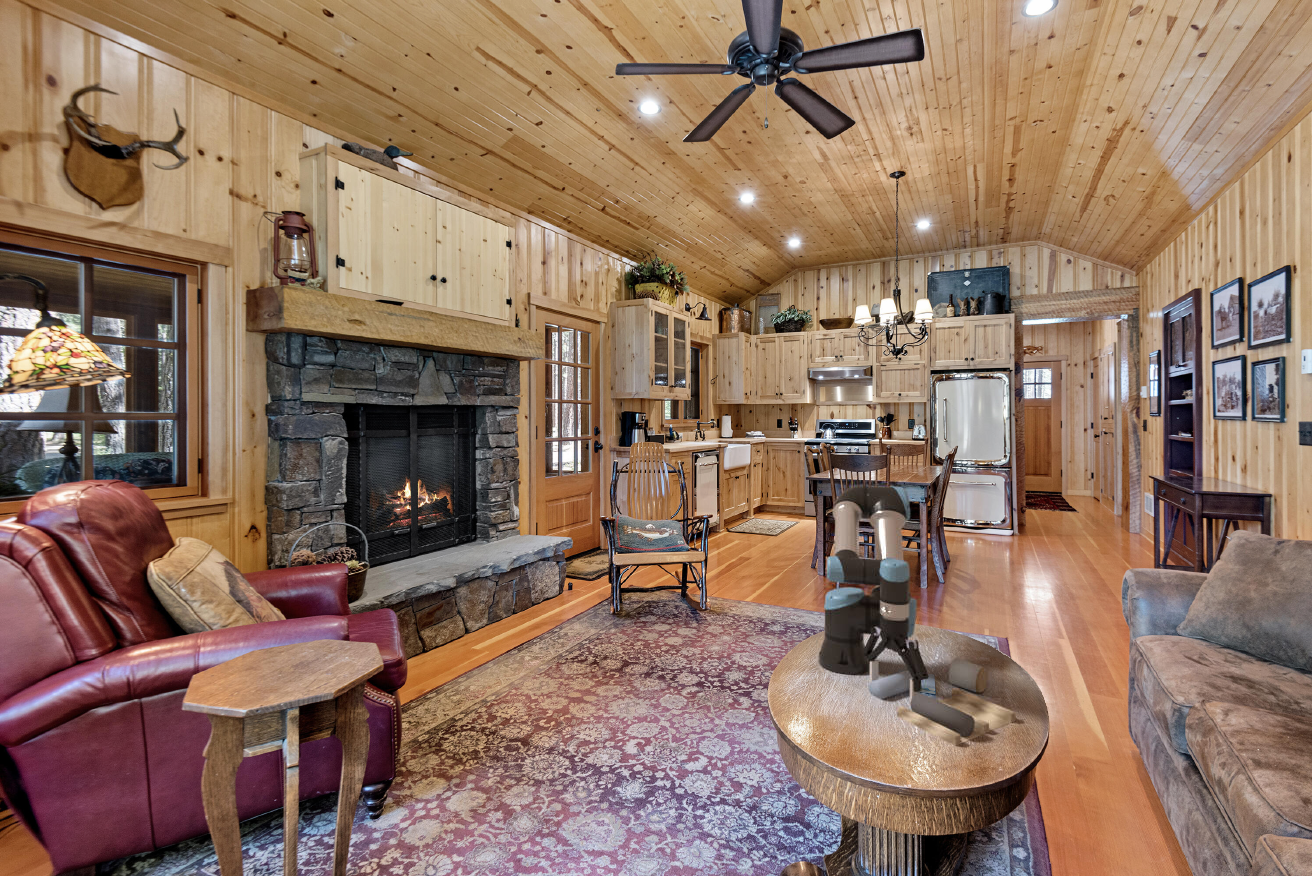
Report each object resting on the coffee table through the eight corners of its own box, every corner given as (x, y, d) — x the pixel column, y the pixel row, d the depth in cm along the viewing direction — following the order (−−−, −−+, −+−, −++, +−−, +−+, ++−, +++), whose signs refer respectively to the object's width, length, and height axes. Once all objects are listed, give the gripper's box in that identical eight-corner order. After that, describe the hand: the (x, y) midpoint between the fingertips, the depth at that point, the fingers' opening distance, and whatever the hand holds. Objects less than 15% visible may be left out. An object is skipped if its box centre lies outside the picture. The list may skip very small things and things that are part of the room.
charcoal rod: (907, 705, 152) (916, 688, 153) (917, 715, 153) (925, 698, 155) (958, 730, 139) (968, 711, 141) (968, 740, 141) (977, 722, 143)
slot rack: (896, 718, 151) (897, 708, 151) (956, 697, 163) (956, 687, 163) (955, 748, 137) (955, 737, 137) (1015, 722, 149) (1015, 712, 149)
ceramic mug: (978, 697, 163) (979, 669, 163) (947, 687, 169) (948, 660, 169) (993, 687, 170) (993, 660, 169) (963, 677, 176) (963, 652, 176)
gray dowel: (883, 703, 160) (883, 685, 160) (868, 696, 164) (868, 678, 164) (917, 692, 166) (918, 674, 166) (902, 685, 171) (902, 668, 171)
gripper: (850, 606, 174) (849, 678, 174) (924, 632, 152) (923, 714, 152) (868, 602, 177) (867, 673, 178) (943, 627, 156) (942, 708, 156)
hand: (893, 692), depth 165 cm, fingers open, 13 cm apart
